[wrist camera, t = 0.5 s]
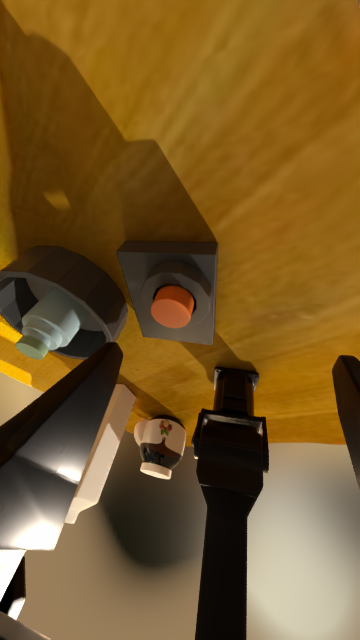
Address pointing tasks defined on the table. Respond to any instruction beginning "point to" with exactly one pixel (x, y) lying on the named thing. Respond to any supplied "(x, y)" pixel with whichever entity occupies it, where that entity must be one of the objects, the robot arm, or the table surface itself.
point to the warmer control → (172, 269)
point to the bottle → (51, 324)
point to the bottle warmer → (75, 281)
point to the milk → (102, 451)
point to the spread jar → (160, 444)
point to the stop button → (172, 306)
